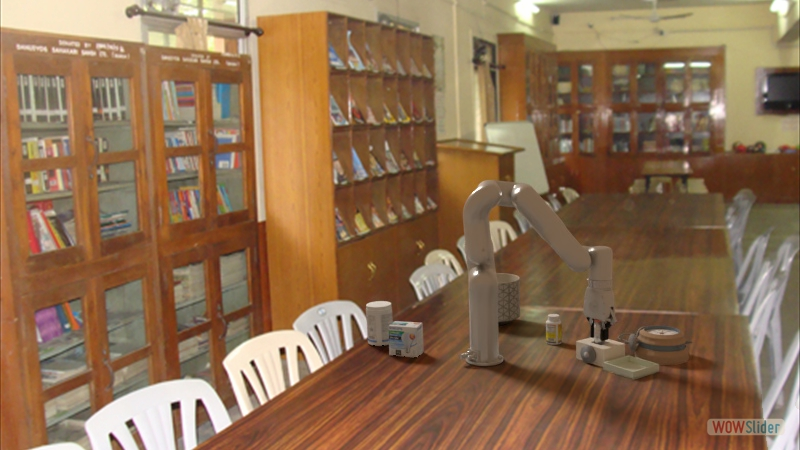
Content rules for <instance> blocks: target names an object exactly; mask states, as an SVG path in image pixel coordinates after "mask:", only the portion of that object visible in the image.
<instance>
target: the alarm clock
mask: <svg viewBox="0 0 800 450" xmlns="http://www.w3.org/2000/svg"><path fill="white" fill-rule="evenodd" d="M628 335H629V337H628V339H624V338H620V337H622V336H628ZM617 340H620V341H623V342H624V344H625V345H628V348H629V349H630V351H632V352H634V357H637V358H640V359H643V360H647V361H650V362H654V363H657V364H659V366H674V365H675V366H676V365H682V364H685V363H687V362H688V361H689V359H690V351H689V349H688V347H687V345H688V344H693V341H690V340H687V338H686V337H685V332H684V331H682V330H680V329H679V328H676V327H673V326H668V325H649V326H641V327H640V328H638V330H637V331H636V333H629V332H628V333H627V332H626V333H621V334H619V335H618V336H617ZM686 344H687V345H686ZM686 361H687V362H686Z"/></svg>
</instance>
